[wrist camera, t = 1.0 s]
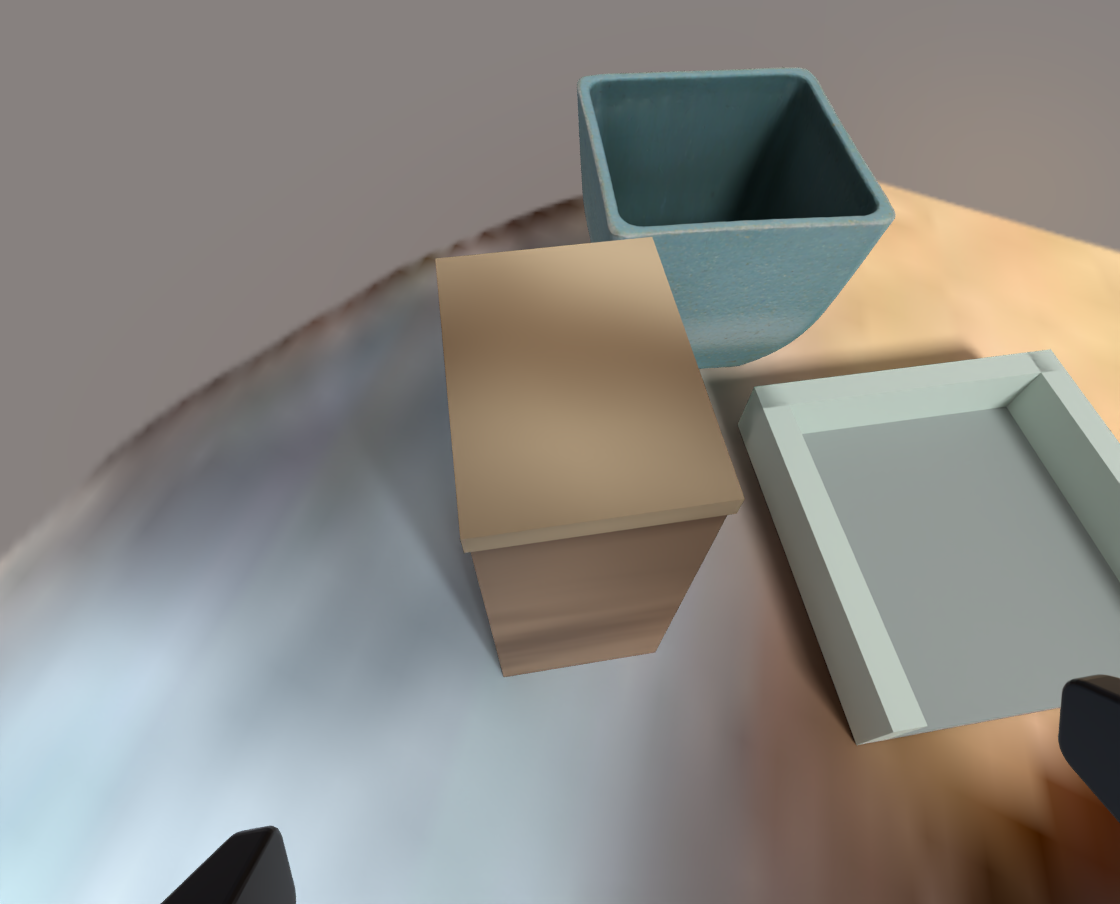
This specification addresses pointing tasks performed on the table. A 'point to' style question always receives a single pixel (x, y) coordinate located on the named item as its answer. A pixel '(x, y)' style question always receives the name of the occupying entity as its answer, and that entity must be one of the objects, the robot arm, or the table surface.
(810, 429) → the bay
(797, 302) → the flower pot
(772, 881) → the table surface
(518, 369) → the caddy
